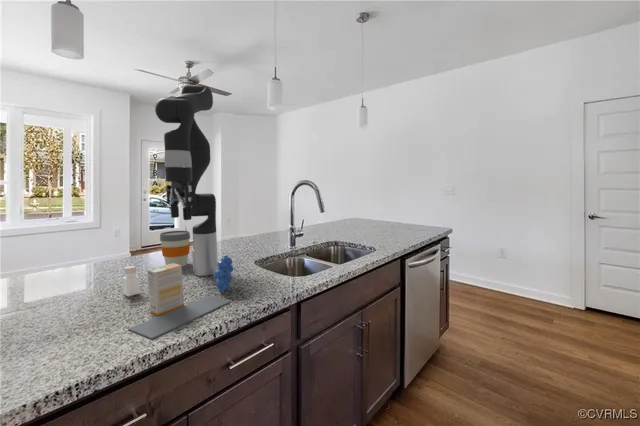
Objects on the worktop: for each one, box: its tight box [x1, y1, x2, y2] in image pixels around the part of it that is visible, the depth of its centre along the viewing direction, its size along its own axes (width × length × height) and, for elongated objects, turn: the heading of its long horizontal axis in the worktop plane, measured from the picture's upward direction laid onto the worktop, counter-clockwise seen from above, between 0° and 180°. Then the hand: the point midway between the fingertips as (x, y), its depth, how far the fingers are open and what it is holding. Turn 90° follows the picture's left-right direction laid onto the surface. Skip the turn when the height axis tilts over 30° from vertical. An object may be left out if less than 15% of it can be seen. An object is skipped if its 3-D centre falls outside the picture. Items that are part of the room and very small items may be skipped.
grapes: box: [213, 255, 235, 293], centre depth 108 cm, size 12×7×12 cm, turn 174°
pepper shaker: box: [122, 265, 141, 297], centre depth 104 cm, size 4×4×10 cm
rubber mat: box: [128, 295, 231, 340], centre depth 88 cm, size 10×26×1 cm, turn 151°
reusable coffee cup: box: [159, 230, 191, 267], centre depth 140 cm, size 13×13×15 cm
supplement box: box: [146, 263, 185, 317], centre depth 91 cm, size 8×5×13 cm, turn 145°
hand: (181, 218), depth 95 cm, fingers open, 8 cm apart
